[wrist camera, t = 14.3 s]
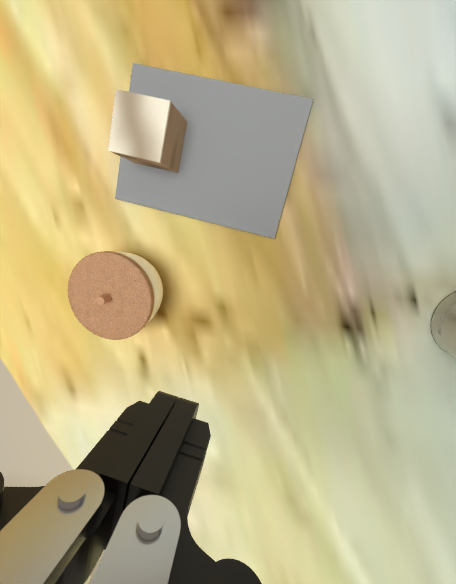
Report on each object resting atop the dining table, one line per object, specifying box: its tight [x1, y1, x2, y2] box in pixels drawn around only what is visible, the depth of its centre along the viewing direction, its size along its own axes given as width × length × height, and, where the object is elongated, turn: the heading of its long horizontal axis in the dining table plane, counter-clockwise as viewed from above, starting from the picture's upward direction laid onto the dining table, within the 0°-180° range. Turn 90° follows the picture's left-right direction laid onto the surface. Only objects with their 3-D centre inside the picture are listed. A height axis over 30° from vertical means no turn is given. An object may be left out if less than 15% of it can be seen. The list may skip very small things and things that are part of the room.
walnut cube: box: [108, 89, 187, 173], centre depth 33 cm, size 6×6×6 cm
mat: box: [115, 63, 313, 239], centre depth 35 cm, size 22×16×1 cm
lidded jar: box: [68, 251, 163, 340], centre depth 36 cm, size 11×11×9 cm
